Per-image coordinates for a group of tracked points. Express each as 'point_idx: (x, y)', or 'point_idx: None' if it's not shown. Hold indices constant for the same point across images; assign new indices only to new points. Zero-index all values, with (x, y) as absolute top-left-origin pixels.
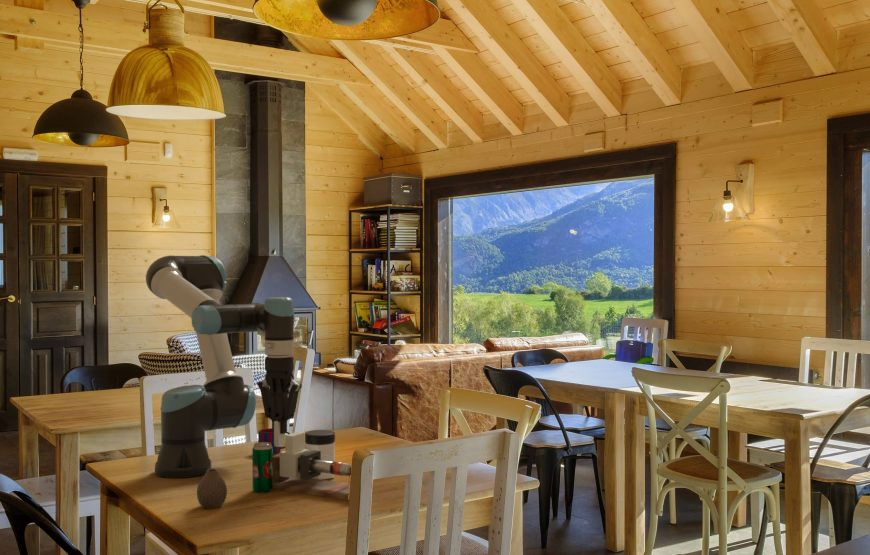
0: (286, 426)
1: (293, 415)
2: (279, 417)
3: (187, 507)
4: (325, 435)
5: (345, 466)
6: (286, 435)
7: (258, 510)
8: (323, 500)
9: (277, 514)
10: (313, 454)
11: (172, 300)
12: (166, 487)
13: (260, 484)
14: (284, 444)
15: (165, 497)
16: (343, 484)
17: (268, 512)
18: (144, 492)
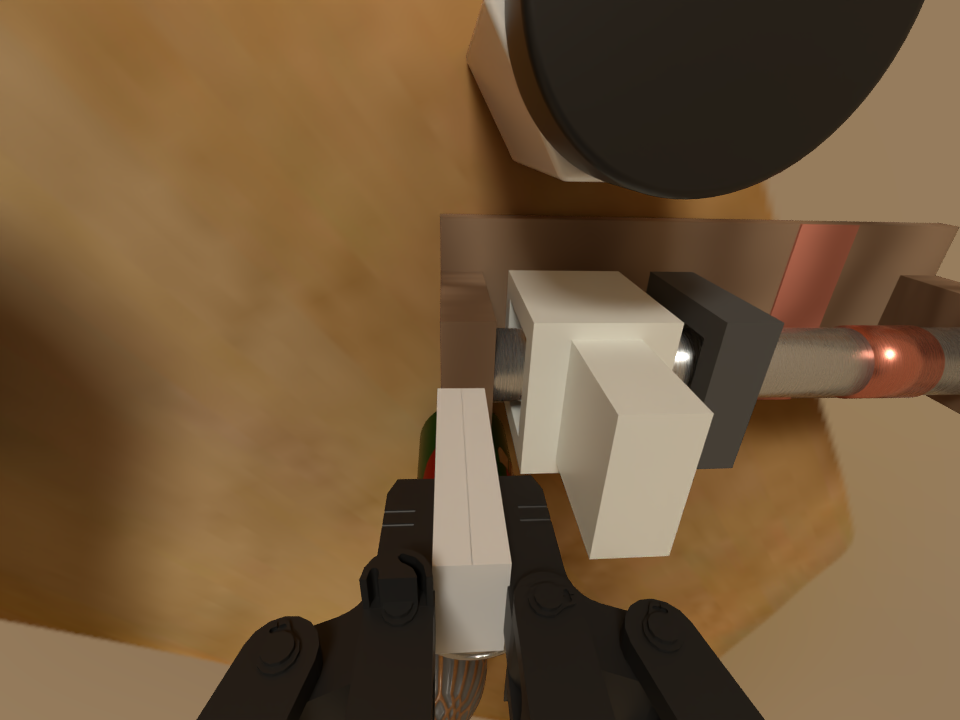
0: (552, 535)
1: (706, 652)
2: (521, 709)
3: None
4: (851, 112)
5: (945, 394)
6: (602, 557)
7: (591, 581)
8: (753, 428)
9: (663, 582)
10: (750, 401)
11: None
12: (91, 550)
13: None
14: (484, 395)
15: (223, 614)
16: (807, 258)
17: (629, 581)
18: (102, 611)
